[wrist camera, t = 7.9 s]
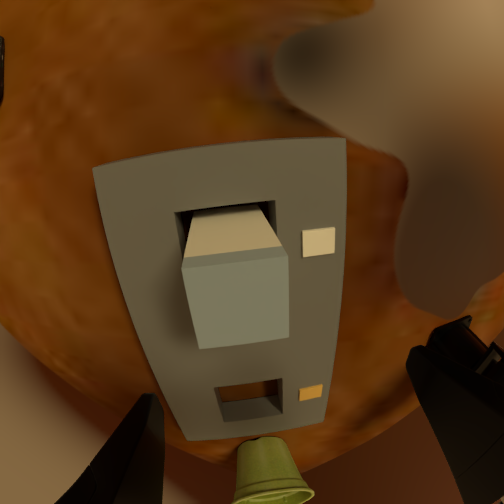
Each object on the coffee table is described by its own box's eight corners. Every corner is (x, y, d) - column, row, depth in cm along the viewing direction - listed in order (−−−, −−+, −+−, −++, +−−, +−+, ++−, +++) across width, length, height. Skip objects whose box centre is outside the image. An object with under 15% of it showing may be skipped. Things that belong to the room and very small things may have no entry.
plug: (257, 204, 18) (288, 255, 11) (261, 261, 20) (289, 337, 12) (194, 211, 18) (181, 268, 10) (202, 268, 19) (199, 348, 12)
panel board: (329, 136, 17) (347, 138, 14) (317, 404, 27) (324, 422, 25) (107, 162, 16) (90, 168, 13) (187, 422, 26) (187, 442, 24)
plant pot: (241, 424, 27) (252, 492, 19) (312, 430, 30) (330, 487, 22) (214, 457, 30) (218, 512, 22) (276, 461, 33) (288, 511, 25)
